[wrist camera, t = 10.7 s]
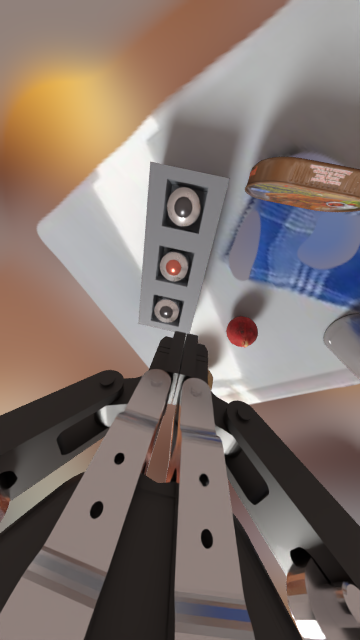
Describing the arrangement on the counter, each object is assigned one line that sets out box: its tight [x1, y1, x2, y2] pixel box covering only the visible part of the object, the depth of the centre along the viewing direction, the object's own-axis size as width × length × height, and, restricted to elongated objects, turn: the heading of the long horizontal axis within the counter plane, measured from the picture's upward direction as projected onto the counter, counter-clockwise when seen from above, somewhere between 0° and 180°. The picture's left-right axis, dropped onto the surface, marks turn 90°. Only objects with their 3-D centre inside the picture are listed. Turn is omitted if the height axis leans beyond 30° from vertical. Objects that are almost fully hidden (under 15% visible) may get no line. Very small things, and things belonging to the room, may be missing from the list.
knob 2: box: [167, 187, 201, 226], centre depth 25 cm, size 4×4×4 cm
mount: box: [138, 162, 230, 335], centre depth 30 cm, size 10×24×6 cm, turn 170°
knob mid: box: [160, 249, 190, 281], centre depth 29 cm, size 4×4×4 cm
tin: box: [245, 157, 360, 212], centre depth 22 cm, size 15×3×8 cm, turn 80°
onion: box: [226, 316, 258, 347], centre depth 34 cm, size 6×6×8 cm
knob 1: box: [154, 296, 181, 323], centre depth 33 cm, size 4×4×4 cm
